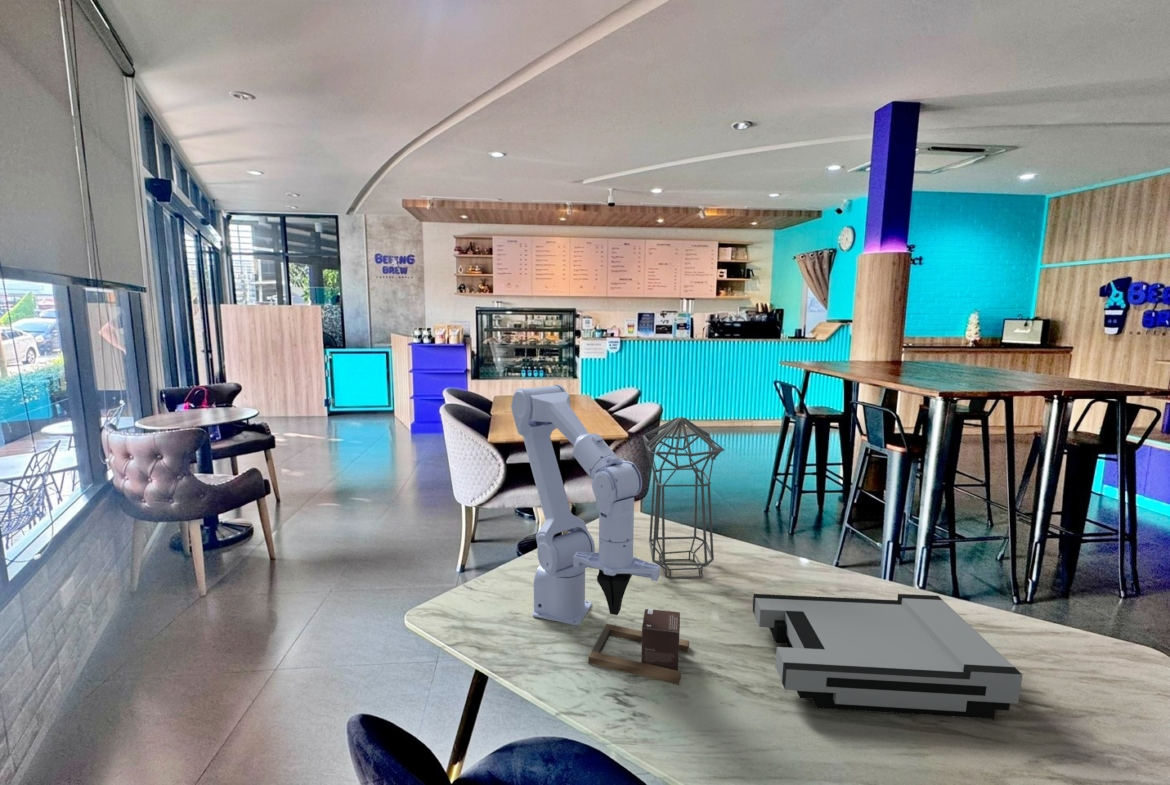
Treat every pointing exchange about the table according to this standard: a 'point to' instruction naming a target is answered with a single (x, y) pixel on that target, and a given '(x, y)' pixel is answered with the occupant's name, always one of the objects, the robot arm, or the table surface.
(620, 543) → the robot arm
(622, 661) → the wooden u-shaped frame
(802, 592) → the table surface
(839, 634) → the game console
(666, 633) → the box
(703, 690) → the table surface
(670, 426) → the geometric lantern
